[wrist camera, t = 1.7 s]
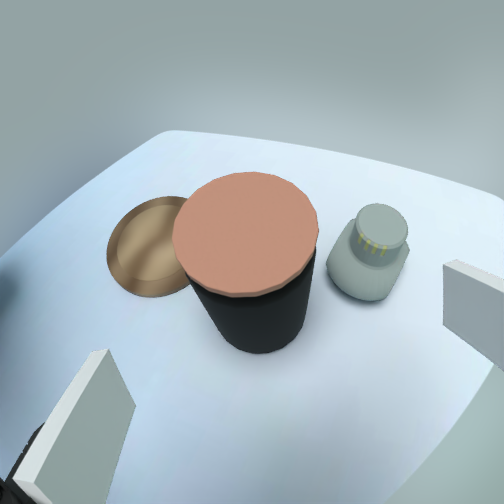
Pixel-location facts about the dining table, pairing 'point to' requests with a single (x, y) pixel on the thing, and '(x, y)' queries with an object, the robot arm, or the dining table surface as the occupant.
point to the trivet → (147, 249)
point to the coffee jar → (249, 256)
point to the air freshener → (370, 253)
